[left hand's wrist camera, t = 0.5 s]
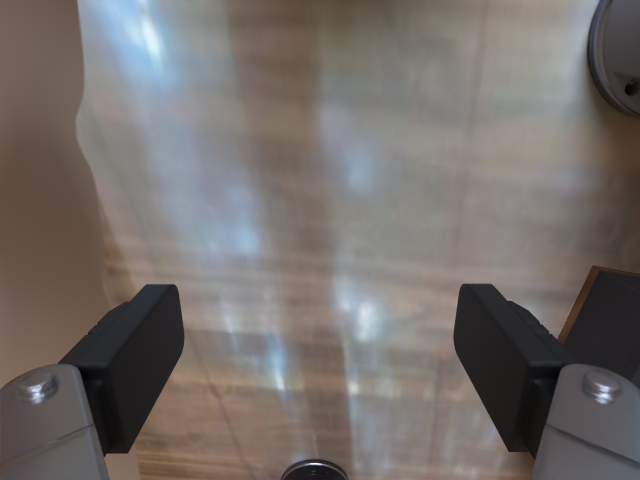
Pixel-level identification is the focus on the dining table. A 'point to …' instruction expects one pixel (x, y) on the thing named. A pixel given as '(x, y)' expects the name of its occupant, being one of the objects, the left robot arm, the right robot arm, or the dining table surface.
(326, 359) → the dining table surface
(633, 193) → the dining table surface
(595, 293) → the cabinet
